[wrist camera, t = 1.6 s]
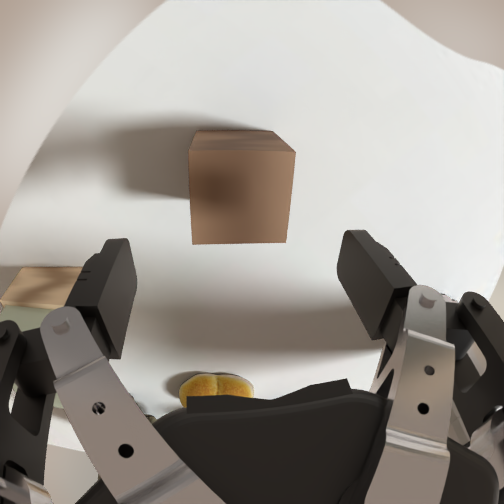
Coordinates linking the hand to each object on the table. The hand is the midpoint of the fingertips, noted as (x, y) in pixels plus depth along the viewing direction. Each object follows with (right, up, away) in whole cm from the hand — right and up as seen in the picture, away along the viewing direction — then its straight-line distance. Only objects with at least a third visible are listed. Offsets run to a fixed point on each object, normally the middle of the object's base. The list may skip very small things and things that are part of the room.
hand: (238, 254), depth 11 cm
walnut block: (-1, +6, +9) cm, 11 cm away
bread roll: (-4, -17, +23) cm, 29 cm away
